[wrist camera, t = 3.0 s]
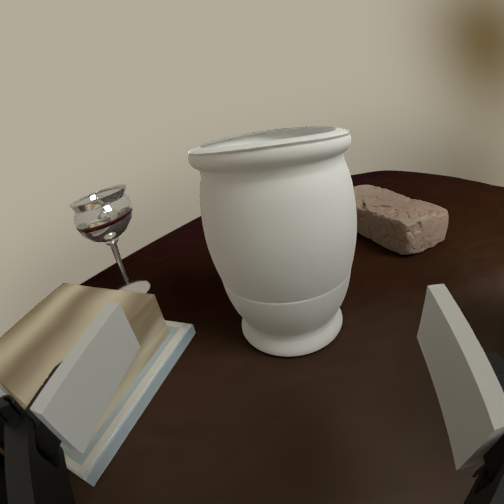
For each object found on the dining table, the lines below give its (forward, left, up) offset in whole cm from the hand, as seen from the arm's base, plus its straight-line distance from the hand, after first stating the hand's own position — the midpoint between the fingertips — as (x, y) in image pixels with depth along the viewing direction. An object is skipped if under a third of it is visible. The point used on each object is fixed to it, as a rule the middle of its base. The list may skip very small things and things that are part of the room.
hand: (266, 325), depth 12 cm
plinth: (+18, 0, -8) cm, 20 cm away
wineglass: (+21, -13, -9) cm, 26 cm away
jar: (+2, -10, -9) cm, 13 cm away
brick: (-7, -30, -9) cm, 32 cm away
